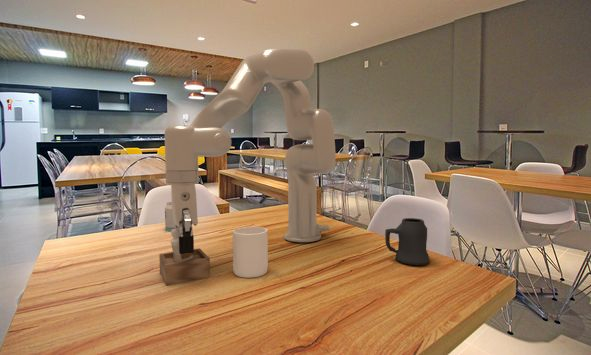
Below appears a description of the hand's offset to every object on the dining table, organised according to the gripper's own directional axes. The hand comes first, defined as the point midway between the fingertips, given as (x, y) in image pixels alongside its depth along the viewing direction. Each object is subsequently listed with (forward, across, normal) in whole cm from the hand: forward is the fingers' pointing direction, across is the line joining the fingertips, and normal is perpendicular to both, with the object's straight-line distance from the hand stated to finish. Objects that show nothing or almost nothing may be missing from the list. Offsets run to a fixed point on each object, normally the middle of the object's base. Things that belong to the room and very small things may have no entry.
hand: (184, 247), depth 81 cm
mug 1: (+7, -4, -16) cm, 18 cm away
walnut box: (+7, 0, 0) cm, 7 cm away
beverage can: (+7, +45, -2) cm, 45 cm away
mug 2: (+7, -14, -58) cm, 60 cm away
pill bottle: (+3, 0, 0) cm, 3 cm away
